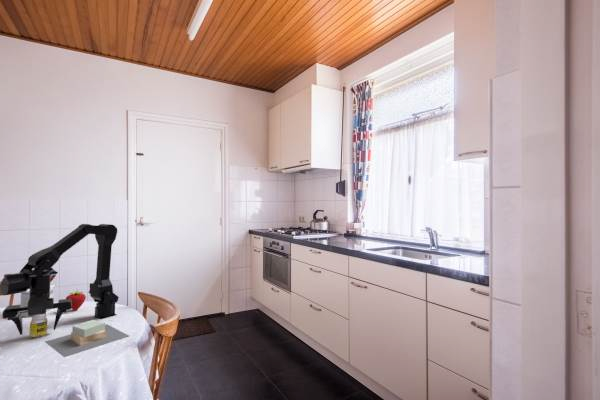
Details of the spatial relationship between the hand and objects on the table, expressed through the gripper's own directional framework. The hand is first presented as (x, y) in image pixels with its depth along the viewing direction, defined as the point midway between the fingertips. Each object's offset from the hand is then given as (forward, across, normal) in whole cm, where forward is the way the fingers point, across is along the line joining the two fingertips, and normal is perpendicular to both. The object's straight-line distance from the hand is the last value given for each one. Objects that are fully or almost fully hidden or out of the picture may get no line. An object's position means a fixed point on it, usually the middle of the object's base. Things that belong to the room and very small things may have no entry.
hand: (38, 331), depth 112 cm
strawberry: (+2, +10, +27) cm, 29 cm away
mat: (+2, +15, -12) cm, 19 cm away
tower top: (-1, +15, -12) cm, 19 cm away
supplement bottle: (+2, 0, 0) cm, 2 cm away
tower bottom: (+2, +15, -12) cm, 19 cm away
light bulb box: (+2, -4, +33) cm, 33 cm away
